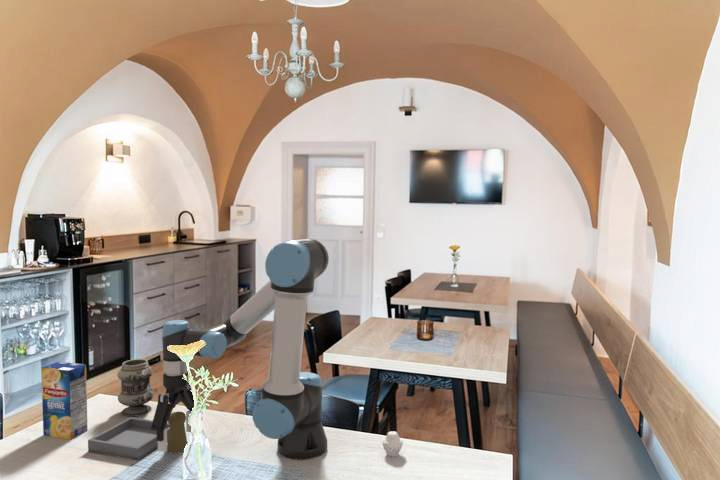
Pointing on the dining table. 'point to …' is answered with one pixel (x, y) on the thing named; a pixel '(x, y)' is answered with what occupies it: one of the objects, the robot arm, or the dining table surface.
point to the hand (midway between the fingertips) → (177, 440)
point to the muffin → (392, 443)
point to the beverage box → (64, 399)
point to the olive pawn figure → (177, 432)
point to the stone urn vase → (135, 387)
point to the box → (127, 439)
